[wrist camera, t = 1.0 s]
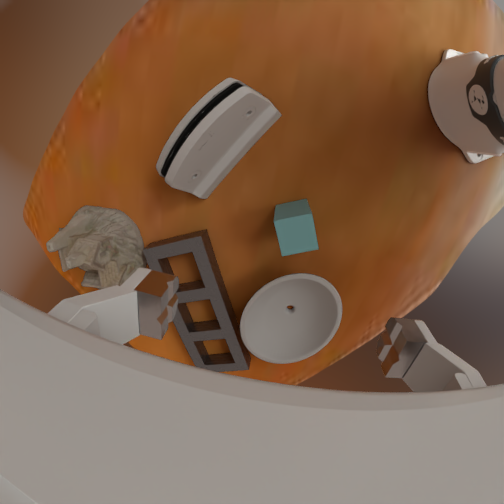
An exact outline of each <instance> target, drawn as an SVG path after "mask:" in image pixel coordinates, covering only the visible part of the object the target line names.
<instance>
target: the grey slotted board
mask: <svg viewBox="0 0 504 504" xmlns="http://www.w3.org/2000/svg"><path fill="white" fill-rule="evenodd" d="M189 252H193V255H194V258H195V260H196V263H197V266H198V269H199V272H200V274H201V277H202V280H200V281H194V282H188V283H182V284H179V288H178V289H177V291H176V292H175V293H176V295H177V297H178V305H177V311H176V314H175V317H174V319H173V322H174V324H175V327H176V329H177V331H178V333H179V335H180V337H181V339H182V341H183V343H184V345H185V347H186V349H187V351H188V353H189V355H190V357H191V359H192V360H193V362H194V364H195V366H196V367H199V368H203V369H207V370H211V371H216V372H224V371H238V370H249V366H250V361H251V358H250V355H249V352H248V349H247V347H246V346H245V344H244V342H243V340H242V337H241V333H240V327H239V325H238V322H237V319H236V316H235V313H234V310H233V308H232V305H231V302H230V299H229V296H228V293H227V290H226V287H225V284H224V281H223V278H222V275H221V272H220V269H219V266H218V263H217V260H216V257H215V254H214V251H213V248H212V245H211V242H210V239H209V236H208V233H207V229H206V230H201V231H197V232H193V233H189V234H185V235H181V236H177V237H173V238H169V239H165V240H161V241H157V242H153V243H150V244H149V245H148V246H147V247H145V248H144V249H143V253H144V255H145V258H146V260H147V263H148V265H149V268H150V269H151V270H154V271H158V272H162V273H166V274H170V275H174V274H173V271H172V269H171V266H170V264H169V261H168V258H167V257H171V256H176V255H180V254H185V253H189ZM206 299H210V301H211V304H212V307H213V309H214V312H215V314H216V317H217V319H218V320H211V321H203V322H193V320H192V317H191V315H190V313H189V310H188V308H187V306H186V303H185V302H192V301H199V300H206ZM215 339H226V342H227V344H228V347H229V349H230V352H231V353H224V354H211V355H208V353H207V350H206V348H205V346H204V344H203V342H202V341H204V340H215Z"/></svg>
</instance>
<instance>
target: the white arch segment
mask: <svg viewBox="0 0 504 504" xmlns="http://www.w3.org/2000/svg"><path fill="white" fill-rule="evenodd" d="M281 116H282V115H281V113H280V112H279V111H278V110H277V109H276V108H275V106H274V105H273V104H272V103H271V102H270V100H268V99H267V98H265V97H264V96H262V94H260V93H259V92H257V91H255V90H254V89H252V88H251V87H249V86H247V85H246V84H244V83H242V82H241V81H239V80H236V79H233V78H227V79H225V80H224V81H222V82H221V83H220V84H218V85H217V86H216V87H214V88H213V89H212V90H210V91H209V92H208V93H207V94H206V95H205V96H204V97H202V98H201V99H200V100H199V101H198V102H197V103H196V104H195V105H194V106H193V107H192V108H191V109H190V111H189V112H188V113H187V114H186V115H185V116H184V118H183V119H182V120H181V121H180V123H179V124H178V125H177V127H176V128H175V130H174V131H173V133H172V134H171V136H170V137H169V139H168V141H167V142H166V144H165V146H164V148H163V150H162V152H161V154H160V156H159V159H158V162H157V164H156V169H157V171H158V173H159V175H160V176H162V177H165V182H166V183H167V184H168V185H170V186H171V187H172V188H175V189H179V190H182V191H186V192H189V193H192V194H194V195H196V196H197V197H199V198H201V199H207V198H208V196H209V195H210V194H211V193H212V192H213V190H214V189H215V188H216V187H217V186H218V185H219V183H220V182H221V181H222V180H223V179H224V178H225V177H226V175H227V174H228V173H229V172H230V171H231V170H232V169H233V167H234V166H235V165H236V164H237V163H238V162H239V161H240V160H241V158H242V157H243V156H244V155H245V154H246V153H247V152H248V151H249V150H250V148H251V147H252V146H253V145H254V144H255V143H256V142H257V141H258V140H259V139H260V138H261V137H262V135H263V134H264V133H265V132H266V131H267V130H268V129H269V128H270V127H271V126H272V125H273V124H274V123H275V122H276V121H277V120H278V119H279V118H280V117H281Z"/></svg>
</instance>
